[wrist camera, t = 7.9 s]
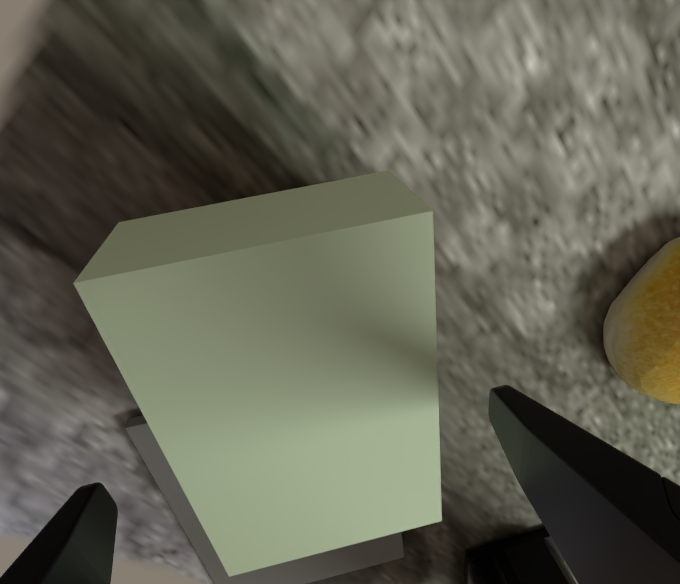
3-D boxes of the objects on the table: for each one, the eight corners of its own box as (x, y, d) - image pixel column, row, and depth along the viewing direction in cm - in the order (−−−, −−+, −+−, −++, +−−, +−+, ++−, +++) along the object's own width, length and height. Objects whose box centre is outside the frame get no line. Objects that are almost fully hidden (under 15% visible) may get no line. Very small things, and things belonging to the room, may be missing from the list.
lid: (410, 443, 16) (441, 521, 13) (232, 486, 15) (229, 576, 13) (388, 170, 11) (432, 211, 8) (118, 222, 10) (72, 282, 7)
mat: (401, 548, 25) (404, 557, 24) (227, 594, 24) (226, 605, 23) (379, 361, 17) (382, 369, 17) (128, 418, 17) (124, 428, 16)
